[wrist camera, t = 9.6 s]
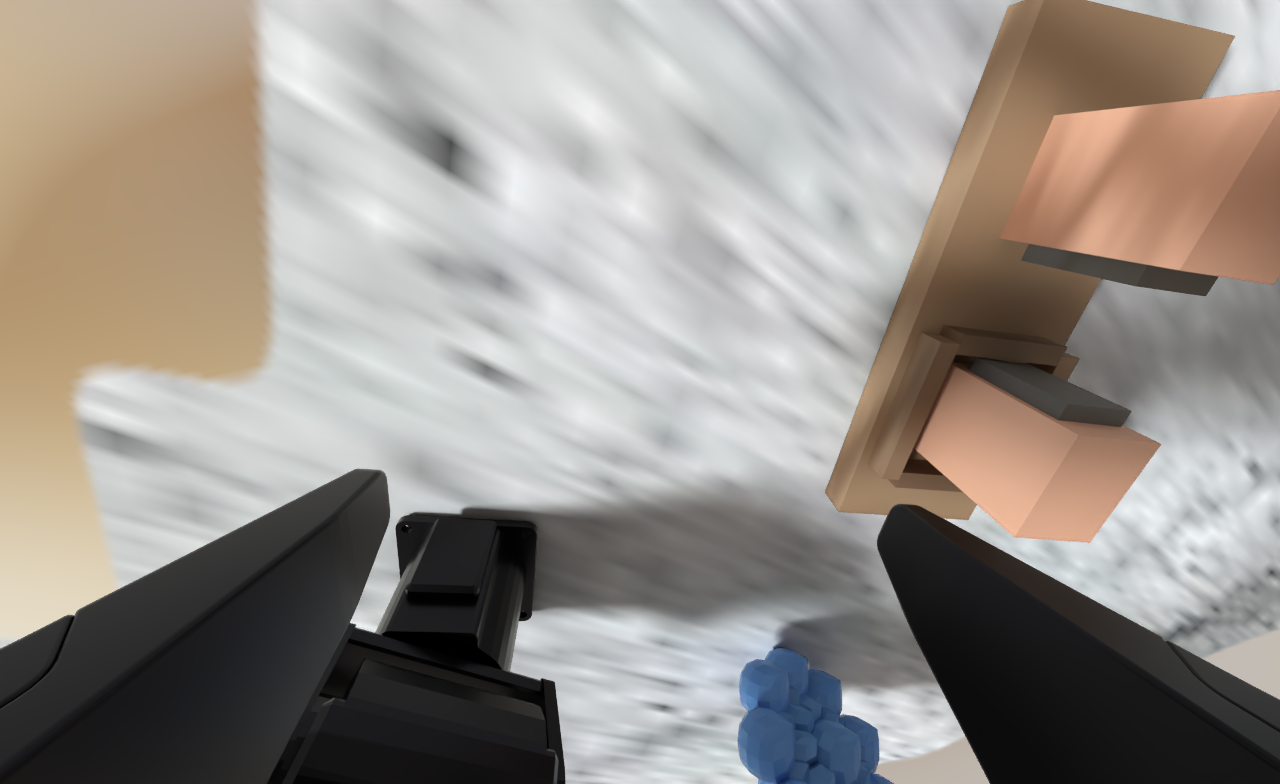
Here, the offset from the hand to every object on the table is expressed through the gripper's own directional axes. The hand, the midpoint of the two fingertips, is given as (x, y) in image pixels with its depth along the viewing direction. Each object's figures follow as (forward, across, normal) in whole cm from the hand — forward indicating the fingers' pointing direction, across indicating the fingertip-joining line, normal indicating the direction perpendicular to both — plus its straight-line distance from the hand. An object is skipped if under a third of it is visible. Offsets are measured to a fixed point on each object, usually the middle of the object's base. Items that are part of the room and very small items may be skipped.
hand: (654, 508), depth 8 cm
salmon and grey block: (+10, -15, +2) cm, 18 cm away
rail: (+12, -15, -2) cm, 19 cm away
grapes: (+12, -12, +21) cm, 27 cm away
